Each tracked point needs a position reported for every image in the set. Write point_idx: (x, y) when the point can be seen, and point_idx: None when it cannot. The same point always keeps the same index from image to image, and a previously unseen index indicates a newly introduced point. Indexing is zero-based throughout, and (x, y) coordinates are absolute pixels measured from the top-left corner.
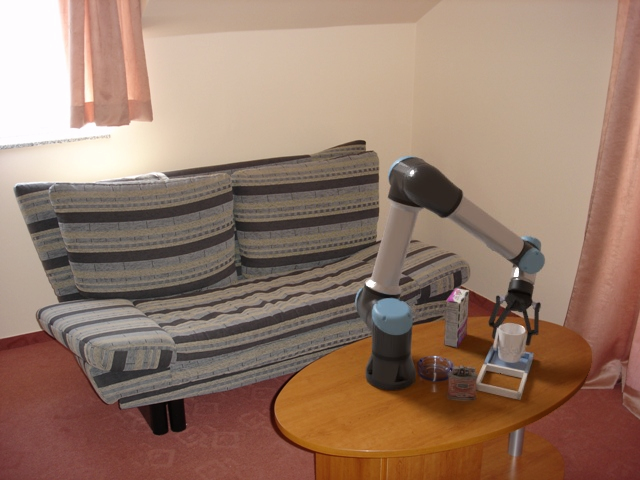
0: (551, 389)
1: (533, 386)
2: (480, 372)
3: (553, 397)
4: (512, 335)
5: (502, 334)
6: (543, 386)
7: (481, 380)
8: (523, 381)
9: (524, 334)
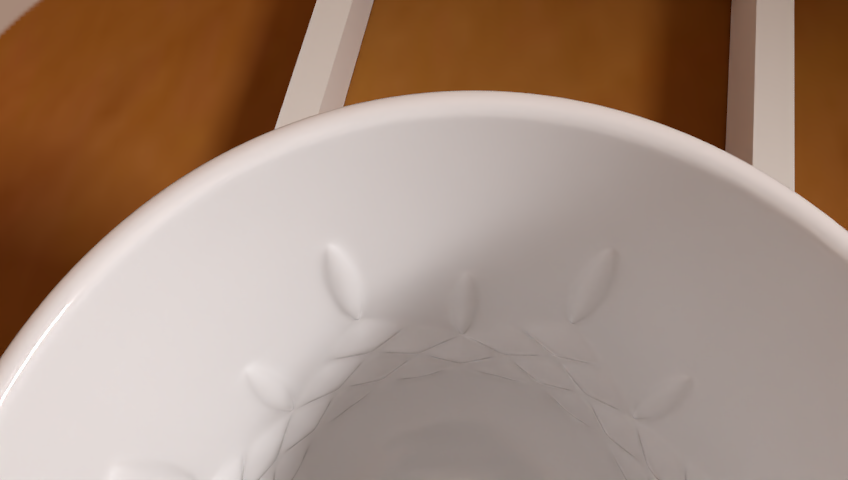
0: (55, 118)
1: (219, 129)
2: (785, 111)
3: (76, 7)
4: (469, 102)
5: (778, 253)
6: (120, 150)
7: (733, 85)
8: (314, 45)
9: (52, 373)
